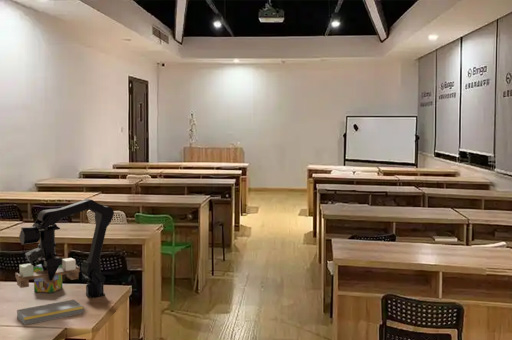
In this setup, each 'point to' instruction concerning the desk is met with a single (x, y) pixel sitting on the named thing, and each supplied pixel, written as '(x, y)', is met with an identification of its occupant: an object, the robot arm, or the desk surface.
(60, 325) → the desk surface
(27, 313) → the dock
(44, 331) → the desk surface
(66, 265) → the block
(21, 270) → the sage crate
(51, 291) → the chalk box
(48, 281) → the pallet
